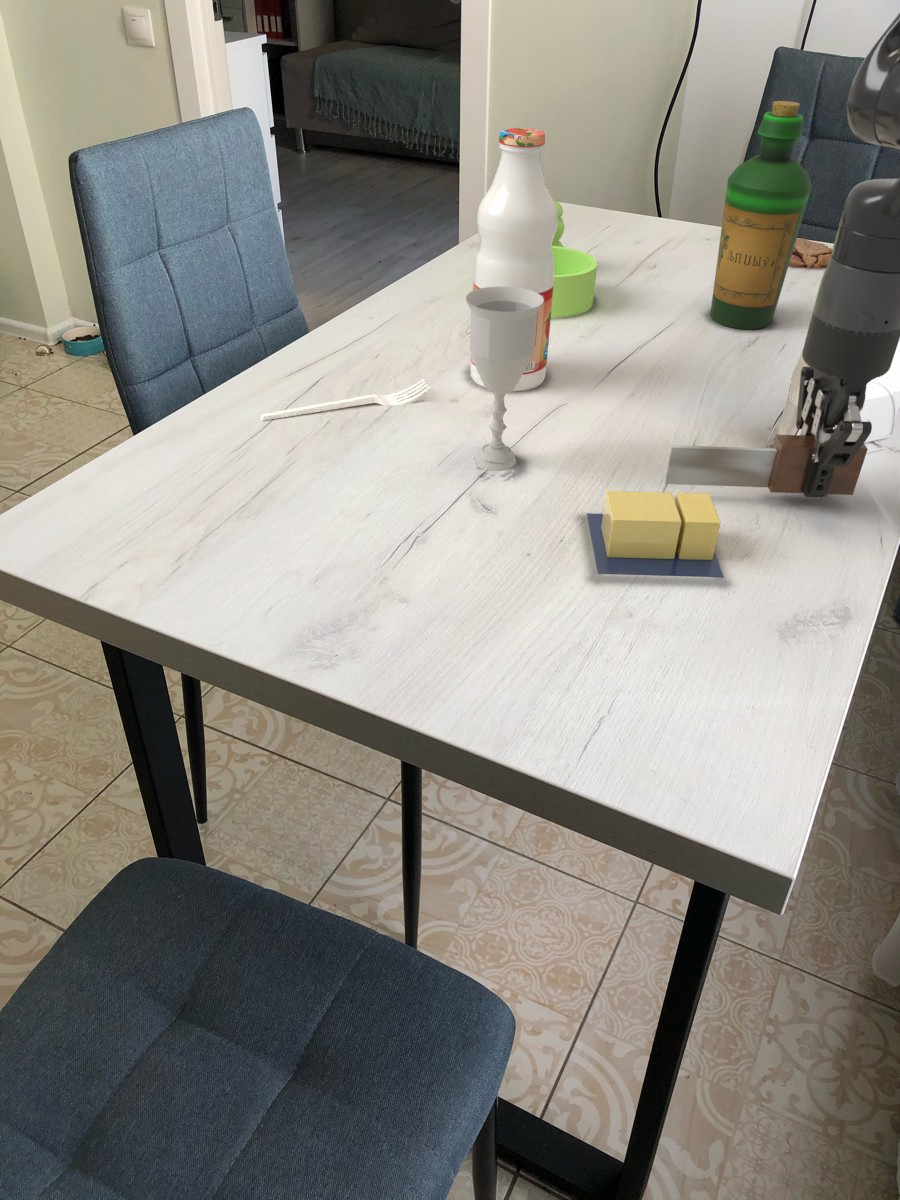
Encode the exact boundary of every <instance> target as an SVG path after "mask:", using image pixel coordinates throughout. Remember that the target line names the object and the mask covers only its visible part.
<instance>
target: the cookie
mask: <svg viewBox="0 0 900 1200" xmlns="http://www.w3.org/2000/svg"><path fill="white" fill-rule="evenodd" d="M832 250H833V248H832V247H829V246H828V245H826V244H825V243H822V242H817V241H812V240H809V239H806V238H802V237H801V238H797V239H796V242H795V245H794V249H793V252H792V256H791V259H790V262H789V266H788V267H791V268H807V269H815V270H816V269H818V270H819V269H822V268H823V269H824V268H825V269H826V267H827V265H828V262H829V260H830V257H831V253H832Z"/></svg>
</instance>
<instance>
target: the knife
mask: <svg viewBox="0 0 900 1200" xmlns="http://www.w3.org/2000/svg"><path fill="white" fill-rule="evenodd" d="M814 441H815V438H814V436H803V435H800V434H775V436H774V441H773V445H772V448H770V447H769V448H768V447H738V446H737V447H736V446H711V445H710V446H709V445H679V444H677V445H676V444H675V445H674V444H672V445H670V449H669V454H668V459H667V465H666V470H665V476H664V480H663V482H664V485H680V486H682V485H683V486H684V485H685V486H714V487H742V488H743V487H744V488H745V487H746V488H749V487H750V488H767V489H768V491H769V493H775V494H777V493H779V494H780V493H781V494H803V492H802V487H803V483H804V480H805V476H806V473H807V469H808V466H809V462H810V459H811V454H812V449H813V445H814ZM827 442H828V441H826V442H825V443H824V446H823V448H824V447H825V445H826V444H827ZM867 453H868V447H867V446H866V443H864V444H863V445H862V447H861V448H860V449H859V451H858V452H857V454H856V455H855V457H854V458H853V460H852V461H851V463H850V464H849V465H848V467H835V468H834V471H833V474H832V477H831V481H830V484H829V487H828V490H827V494H826V495H838V496H840V495H841V496H853V495H854V492H855V490H856V488H857V487H856V486H857V483H858V480H859V477H860V474H861V472H862V468H863V465H864V462H865V459H866V456H867Z"/></svg>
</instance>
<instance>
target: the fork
mask: <svg viewBox="0 0 900 1200" xmlns="http://www.w3.org/2000/svg"><path fill="white" fill-rule="evenodd" d="M430 389H431V386H429V384H428V383H427V381H425V379H421V380H420V381H418V382H417V383H415V384H413V385H411V386H409V387H407V388H405V389H403V390H400V391H397V392H393V393H390V394H375V393H374V394H368V395H362V396H356V397H351V398H344V399H340V400H333V401H328V402H323V403H317V404H312V405H311V404H310V405H306V406H301V407H296V408H290V409H284V410H278V411H274V412H268V413H263V414H261V415H260V420H261V421H262V422H265V421H269V420H276V419H277V420H278V419H283V418H289V417H294V416H301V415H308V414H312V413H319V412H325V411H331V410H337V409H344V408H351V407H355V406H362V405H368V404H378V405H380V406H383V407H396V406H403V405H411V404H412V403H413V402H415V401H417V400H419V399H420V398H421V397H422V396H423V395H424V394H426V393H427V392H428V391H429V390H430Z"/></svg>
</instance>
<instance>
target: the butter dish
mask: <svg viewBox="0 0 900 1200" xmlns="http://www.w3.org/2000/svg"><path fill="white" fill-rule="evenodd" d="M604 497H605V498H604V505H603V512H602V513H592V512H591V513H589V512H588V513H586V517H587V523H588V528H589V533H590V538H591V545H592V550H593V557H594V560H595V565H596V571H597V574H598V575H617V576H618V575H619V576H621V575H622V576H624V575H625V576H657V577H658V576H659V577H692V578H724V574H723V571H722V569H721V565H720V563H719V561H718V558H717V555H716V552H715V551H714V554H713V558H712V560H688V559H679V557H678V554H677V551H676V547H677V542H678V537H679V532H680V527H681V522H682V521H681V518H680V515H679V512H678V510H677V507H676V504H675V497H674V495H673V492H668V491H667V492H662V491H631V490H630V491H627V490H606V491H605V496H604Z"/></svg>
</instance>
